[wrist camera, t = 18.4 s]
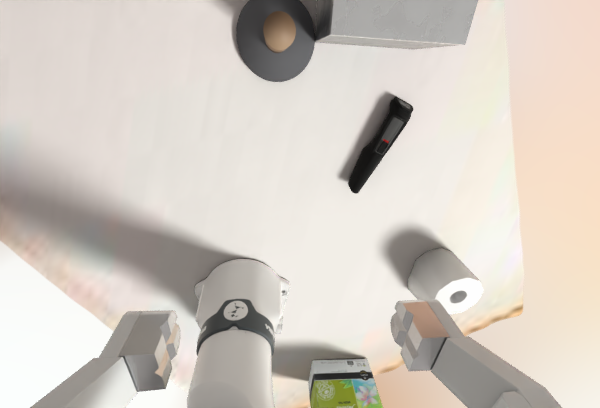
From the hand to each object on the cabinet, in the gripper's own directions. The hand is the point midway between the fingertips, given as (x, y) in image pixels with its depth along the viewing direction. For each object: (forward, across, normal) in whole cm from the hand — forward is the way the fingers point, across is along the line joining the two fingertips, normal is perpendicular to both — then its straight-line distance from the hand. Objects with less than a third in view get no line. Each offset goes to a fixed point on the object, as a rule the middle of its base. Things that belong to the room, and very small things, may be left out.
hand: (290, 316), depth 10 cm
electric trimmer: (+35, +16, -3) cm, 38 cm away
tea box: (+34, +17, -63) cm, 74 cm away
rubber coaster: (+34, 0, +11) cm, 36 cm away
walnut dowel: (+34, 0, +11) cm, 35 cm away
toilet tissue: (+34, +33, -29) cm, 56 cm away
